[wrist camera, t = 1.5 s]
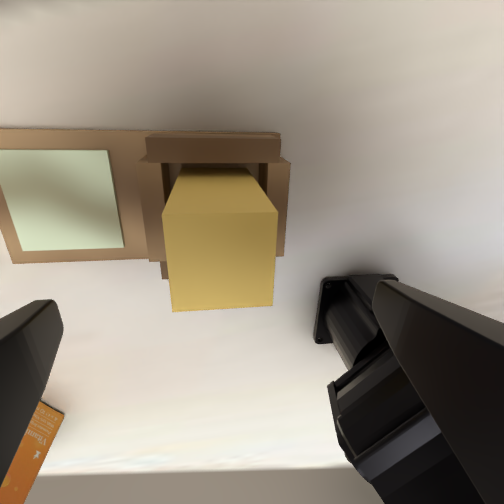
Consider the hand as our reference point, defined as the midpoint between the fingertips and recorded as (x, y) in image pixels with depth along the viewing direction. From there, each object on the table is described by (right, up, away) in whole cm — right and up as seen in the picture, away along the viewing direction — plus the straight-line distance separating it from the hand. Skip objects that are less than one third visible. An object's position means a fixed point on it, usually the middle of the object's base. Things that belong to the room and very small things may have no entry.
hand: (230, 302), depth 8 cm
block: (-2, +5, +11) cm, 12 cm away
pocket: (-2, +5, +12) cm, 13 cm away
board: (-6, +5, +11) cm, 14 cm away
